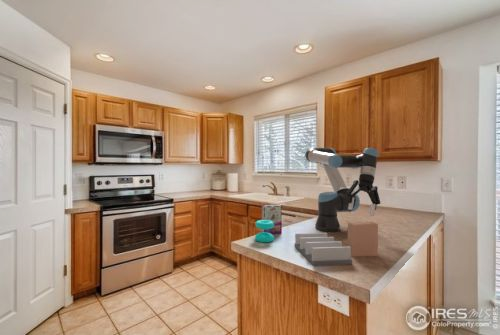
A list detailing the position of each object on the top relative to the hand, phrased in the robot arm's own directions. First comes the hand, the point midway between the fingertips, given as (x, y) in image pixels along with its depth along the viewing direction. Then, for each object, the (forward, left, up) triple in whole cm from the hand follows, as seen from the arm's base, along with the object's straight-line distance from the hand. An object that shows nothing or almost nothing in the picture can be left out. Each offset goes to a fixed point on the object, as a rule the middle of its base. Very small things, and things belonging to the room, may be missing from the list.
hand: (361, 212), depth 129 cm
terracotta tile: (+21, -12, -15) cm, 28 cm away
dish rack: (+19, -31, -15) cm, 39 cm away
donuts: (-4, -52, -15) cm, 55 cm away
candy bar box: (-18, -45, -15) cm, 51 cm away
